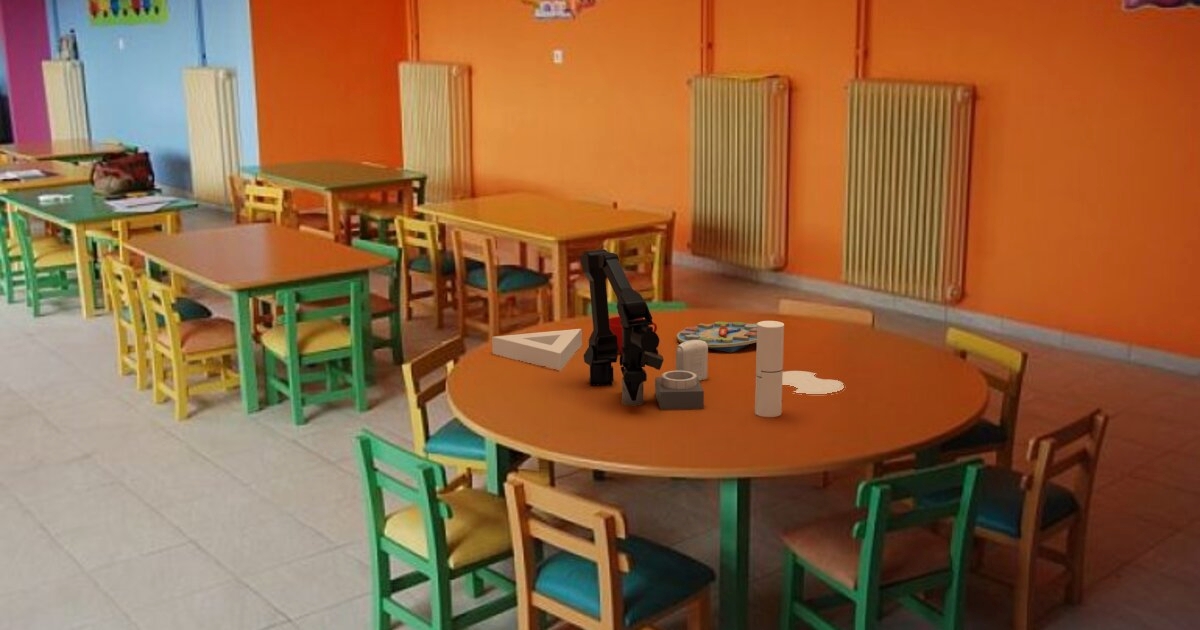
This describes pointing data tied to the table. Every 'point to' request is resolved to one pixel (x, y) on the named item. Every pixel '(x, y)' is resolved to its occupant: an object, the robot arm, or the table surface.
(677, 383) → the gray ring-topped block
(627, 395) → the grey rounded block
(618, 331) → the ceramic cup
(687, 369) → the white rounded device
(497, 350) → the triangle block
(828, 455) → the table surface
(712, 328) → the shape sorting clock
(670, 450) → the table surface
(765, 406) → the cylindrical container
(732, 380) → the table surface
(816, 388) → the white puddle shape
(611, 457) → the table surface
